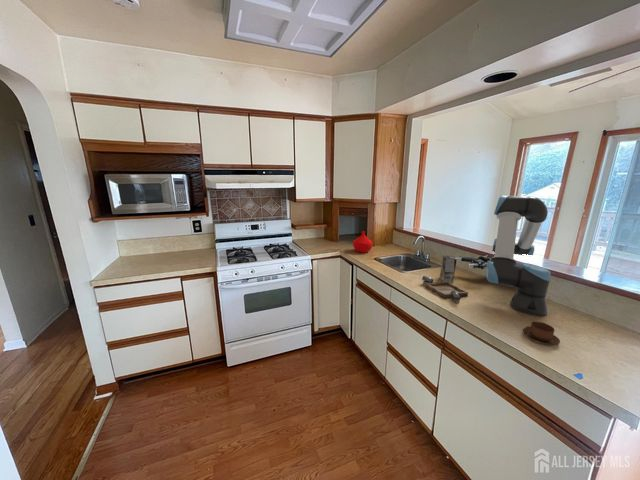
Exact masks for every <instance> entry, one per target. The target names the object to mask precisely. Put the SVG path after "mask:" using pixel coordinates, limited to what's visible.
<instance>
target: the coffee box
mask: <svg viewBox="0 0 640 480" xmlns="http://www.w3.org/2000/svg"><path fill="white" fill-rule="evenodd" d="M455 258H456V257H454V256H453V255H442V260H441V266H440V274H439V278H440V280H441V281H442V282H449V283H451V284H454V279H455V273H456V272H455V271H456V266H457V262H456V261H457V260H456V259H455Z"/></svg>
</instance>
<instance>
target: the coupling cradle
mask: <svg viewBox="0 0 640 480" xmlns="http://www.w3.org/2000/svg"><path fill="white" fill-rule="evenodd" d="M425 288H426V289H427V290H429V291H431V292H432V293H434V294H436V295H438V296H439V297H441V298H442V299H444V300H447V299H451V298H452V297H453V296H452V295H451V291H456V292H457V293H458V294H459V295H460V296H461V298H464V297H469V292H468V291H467V290H464V289H463V288H460V287H459V286H458V285H455V284H454V283H449V282H443V281H442V282H433V283H429V284H426V285H425Z"/></svg>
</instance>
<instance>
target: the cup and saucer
mask: <svg viewBox="0 0 640 480" xmlns="http://www.w3.org/2000/svg"><path fill="white" fill-rule="evenodd" d="M554 333H555V328H554V327H553V326H551V325H549V324H547V323H545V322H542V321H541V322H540V321H531V323H530V325H527V326H524V328H522V334H523V335H524V336H525V337H527V339H529V340H531V341H533V342H536V343H537V344H541V345H544V346H545V345H546V346H557V345H559V344H560V342H561V340H560V338H559V337H558V336H556V335H554Z"/></svg>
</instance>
